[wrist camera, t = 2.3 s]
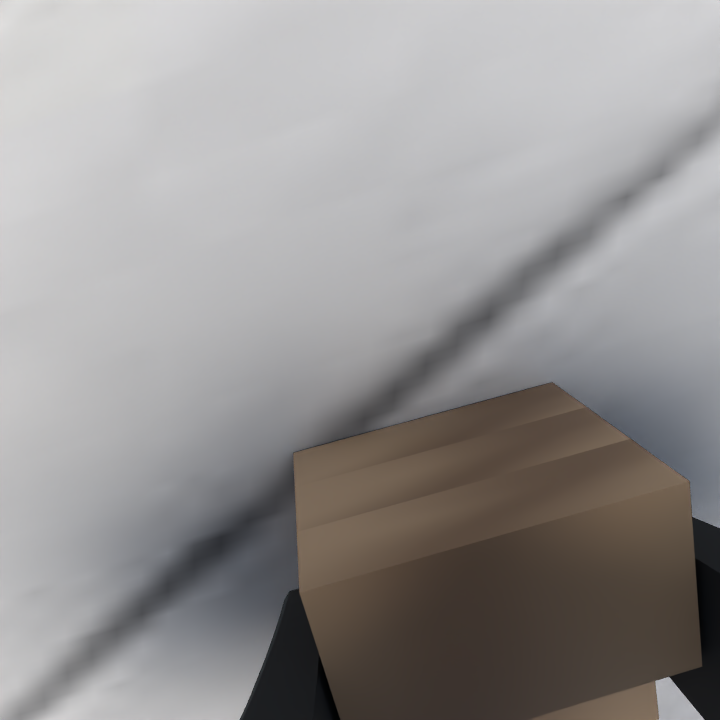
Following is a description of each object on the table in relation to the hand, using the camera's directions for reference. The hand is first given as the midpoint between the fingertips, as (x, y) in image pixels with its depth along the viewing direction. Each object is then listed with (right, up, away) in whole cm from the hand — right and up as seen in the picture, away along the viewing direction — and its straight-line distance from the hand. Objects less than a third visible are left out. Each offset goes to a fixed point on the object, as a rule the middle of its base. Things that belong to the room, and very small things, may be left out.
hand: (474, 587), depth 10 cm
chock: (0, -1, +2) cm, 2 cm away
